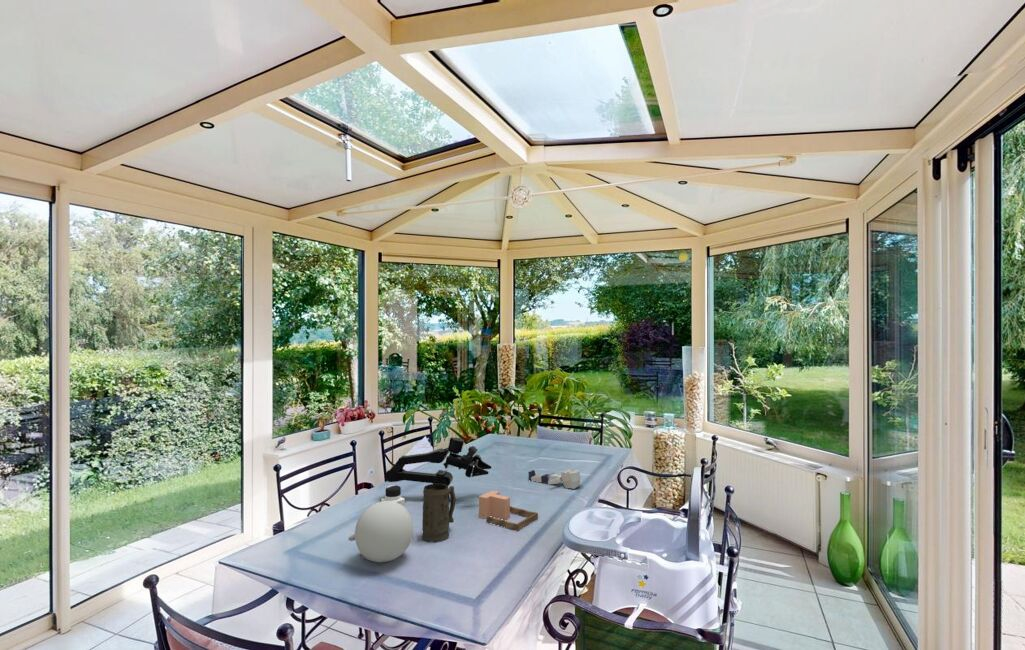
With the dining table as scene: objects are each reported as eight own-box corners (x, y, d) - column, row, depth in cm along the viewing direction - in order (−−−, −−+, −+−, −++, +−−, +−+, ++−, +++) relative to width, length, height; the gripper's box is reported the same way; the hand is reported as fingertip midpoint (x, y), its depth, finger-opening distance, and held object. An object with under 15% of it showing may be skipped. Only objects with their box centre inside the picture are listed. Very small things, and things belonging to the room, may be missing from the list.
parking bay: (486, 522, 197) (486, 516, 197) (507, 511, 210) (507, 505, 210) (517, 531, 188) (517, 525, 188) (537, 518, 201) (537, 513, 201)
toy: (539, 465, 268) (586, 466, 251) (541, 481, 267) (588, 483, 250) (519, 473, 251) (568, 475, 234) (521, 490, 250) (571, 493, 233)
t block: (478, 517, 203) (478, 496, 204) (492, 510, 212) (492, 490, 212) (500, 523, 197) (500, 501, 197) (514, 515, 205) (514, 495, 205)
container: (405, 516, 204) (405, 486, 205) (389, 521, 199) (390, 490, 199) (395, 511, 209) (395, 482, 210) (380, 516, 204) (380, 486, 204)
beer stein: (435, 545, 175) (438, 491, 177) (414, 538, 181) (417, 486, 182) (460, 533, 188) (463, 483, 190) (440, 528, 194) (443, 479, 195)
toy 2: (390, 542, 177) (391, 490, 178) (423, 557, 165) (424, 501, 166) (344, 561, 162) (344, 504, 163) (376, 579, 150) (377, 517, 151)
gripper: (459, 449, 213) (491, 459, 212) (466, 440, 232) (496, 449, 230) (452, 473, 213) (485, 482, 212) (461, 462, 232) (491, 471, 230)
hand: (489, 470), depth 221 cm, fingers open, 9 cm apart
